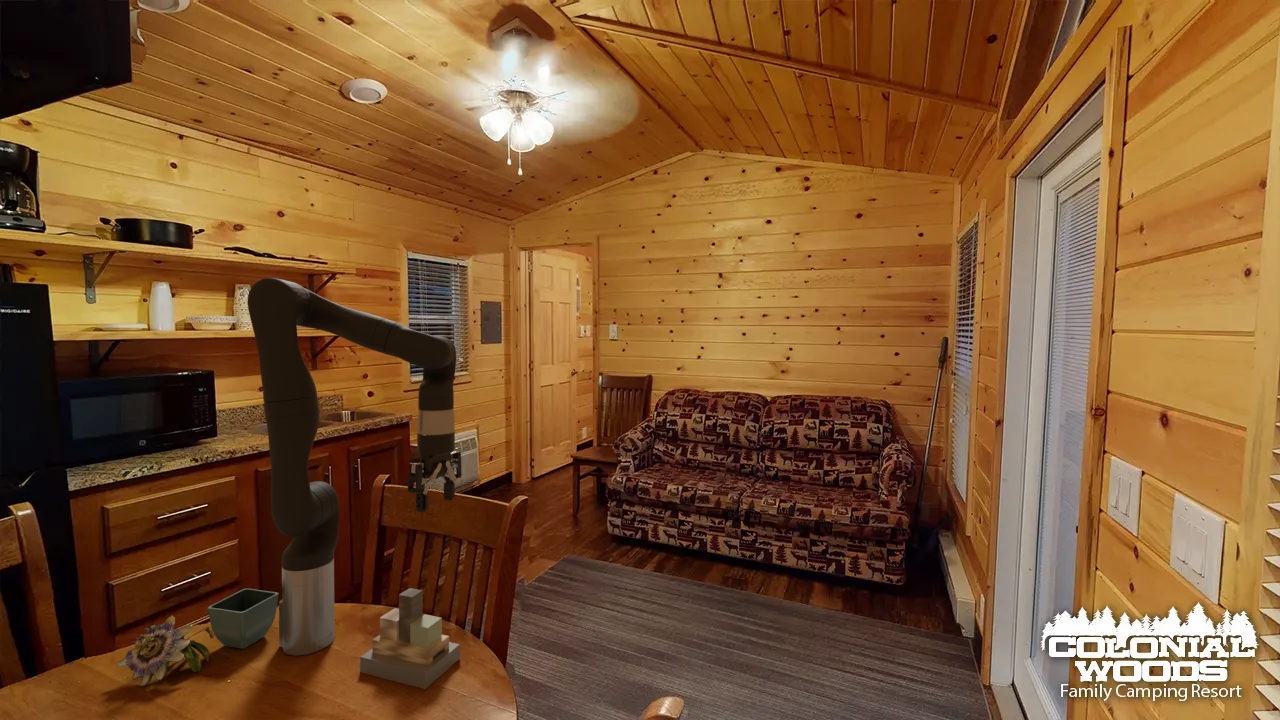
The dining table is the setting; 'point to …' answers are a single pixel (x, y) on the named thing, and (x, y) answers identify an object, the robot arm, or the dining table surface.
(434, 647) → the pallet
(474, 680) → the dining table surface
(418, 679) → the dock
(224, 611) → the flower pot
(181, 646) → the passion flower
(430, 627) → the green block
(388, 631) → the cream block
